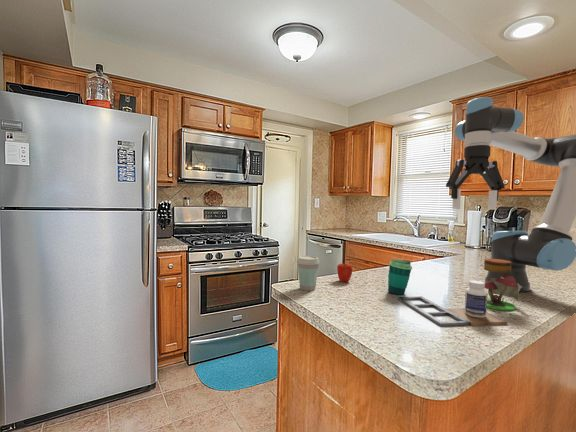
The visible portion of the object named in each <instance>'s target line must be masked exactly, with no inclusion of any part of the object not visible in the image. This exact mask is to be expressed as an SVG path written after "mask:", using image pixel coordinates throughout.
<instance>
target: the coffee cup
mask: <svg viewBox="0 0 576 432" xmlns="http://www.w3.org/2000/svg"><path fill="white" fill-rule="evenodd" d="M296 263H297V269H298V270H297V271H298V279H299V280H298V282H299V289H300V290H301V291H306V292H312V291H315V290H316V285H317V279H318V271H319V266H320V265H319V264H320V260H319V257H318V256H314V255H302V256H301V255H300V256H298V259H297V260H296Z"/></svg>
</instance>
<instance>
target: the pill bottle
mask: <svg viewBox="0 0 576 432" xmlns="http://www.w3.org/2000/svg"><path fill="white" fill-rule="evenodd" d="M485 289H486V288H485V281H480V280H468V287H467V288H466V289H465V295H464V296H465V298H464V308H465V313H466V314H467V315H469V316H472V317H477V318H484V317H486V312H487V298H488V291H487V290H485Z"/></svg>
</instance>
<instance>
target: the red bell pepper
mask: <svg viewBox="0 0 576 432" xmlns="http://www.w3.org/2000/svg"><path fill="white" fill-rule="evenodd" d="M336 268H337V269H336V270H337V277H338V279H339V282H342V283H348V282H350V280H351V277H352V274H353V267H352V264H349V263H339V264H337V267H336Z"/></svg>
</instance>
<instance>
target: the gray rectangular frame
mask: <svg viewBox="0 0 576 432" xmlns="http://www.w3.org/2000/svg"><path fill="white" fill-rule="evenodd" d="M397 300H398V301H399V302H401V303H403V304H404V305H406V306H407V307H409V308H411V309H412V310H413V311H416V313H418V314H420V315H422V316H423V317H424V318H427V319H428V320H430V321H431V322H433V323H434V324H436V325H437V326H439V327H454V326H455V327H459V326H460V327H462V326H471V325H470V324H471V322H469V321H467V320H465V319H463V318H462V317H460V316H458V315H456V314H454V313H452V312H450V311H448V310H446V309H447V308H444V307H443V306H441V305H438V304H437V303H435V302H433V301H431V300H429V299H428V298H425V297H423V296H422V295H421V296H397ZM414 300H415V301H418V300H419V301H422V302H423V303H411V302H410V301H414ZM422 308H434V309H435V310H438V311H425V310H423V309H422ZM435 316H437V317H435ZM438 316H449V317H451V318H452V319H454V321H453V320H452V321H443V320H442V321H441V319H438Z"/></svg>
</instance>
